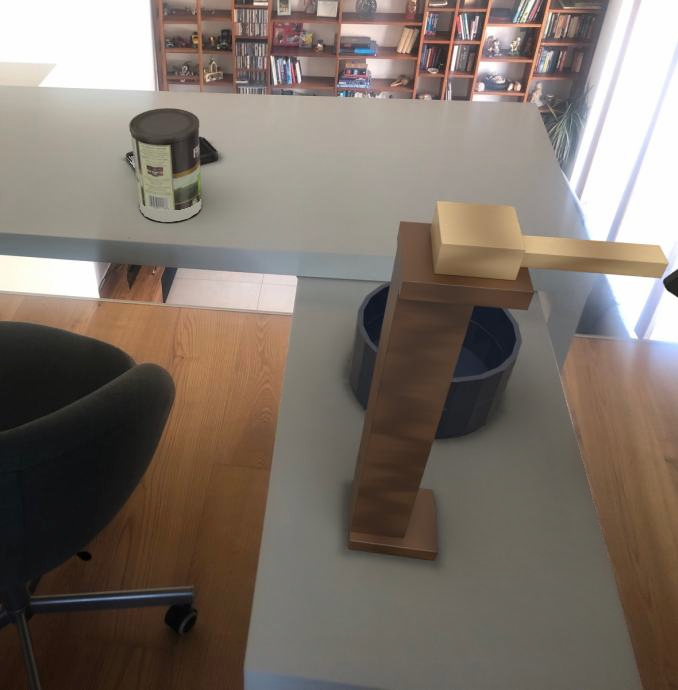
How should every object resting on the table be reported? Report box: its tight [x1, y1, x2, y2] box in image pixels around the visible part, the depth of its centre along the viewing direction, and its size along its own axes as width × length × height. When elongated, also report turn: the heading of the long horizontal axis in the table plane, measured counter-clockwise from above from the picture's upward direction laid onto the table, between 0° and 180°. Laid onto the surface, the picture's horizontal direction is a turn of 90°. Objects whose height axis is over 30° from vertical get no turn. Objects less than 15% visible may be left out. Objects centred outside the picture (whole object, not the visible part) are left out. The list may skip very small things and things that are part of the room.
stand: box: [347, 220, 535, 561], centre depth 57 cm, size 8×7×32 cm
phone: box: [125, 136, 219, 174], centre depth 122 cm, size 8×1×15 cm
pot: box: [348, 281, 523, 439], centre depth 78 cm, size 17×17×9 cm
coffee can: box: [128, 107, 202, 211], centre depth 106 cm, size 10×10×14 cm
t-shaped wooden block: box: [430, 200, 670, 280], centre depth 44 cm, size 14×5×2 cm, turn 80°
